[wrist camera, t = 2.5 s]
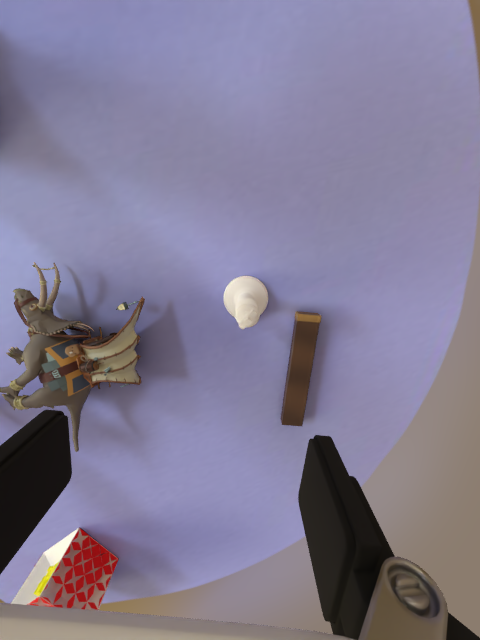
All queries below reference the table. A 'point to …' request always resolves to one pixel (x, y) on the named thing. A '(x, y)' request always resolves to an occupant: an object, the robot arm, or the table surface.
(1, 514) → the robot arm
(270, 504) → the table surface
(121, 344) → the figurine
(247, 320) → the chess piece
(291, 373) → the walnut stick
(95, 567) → the red patterned box
